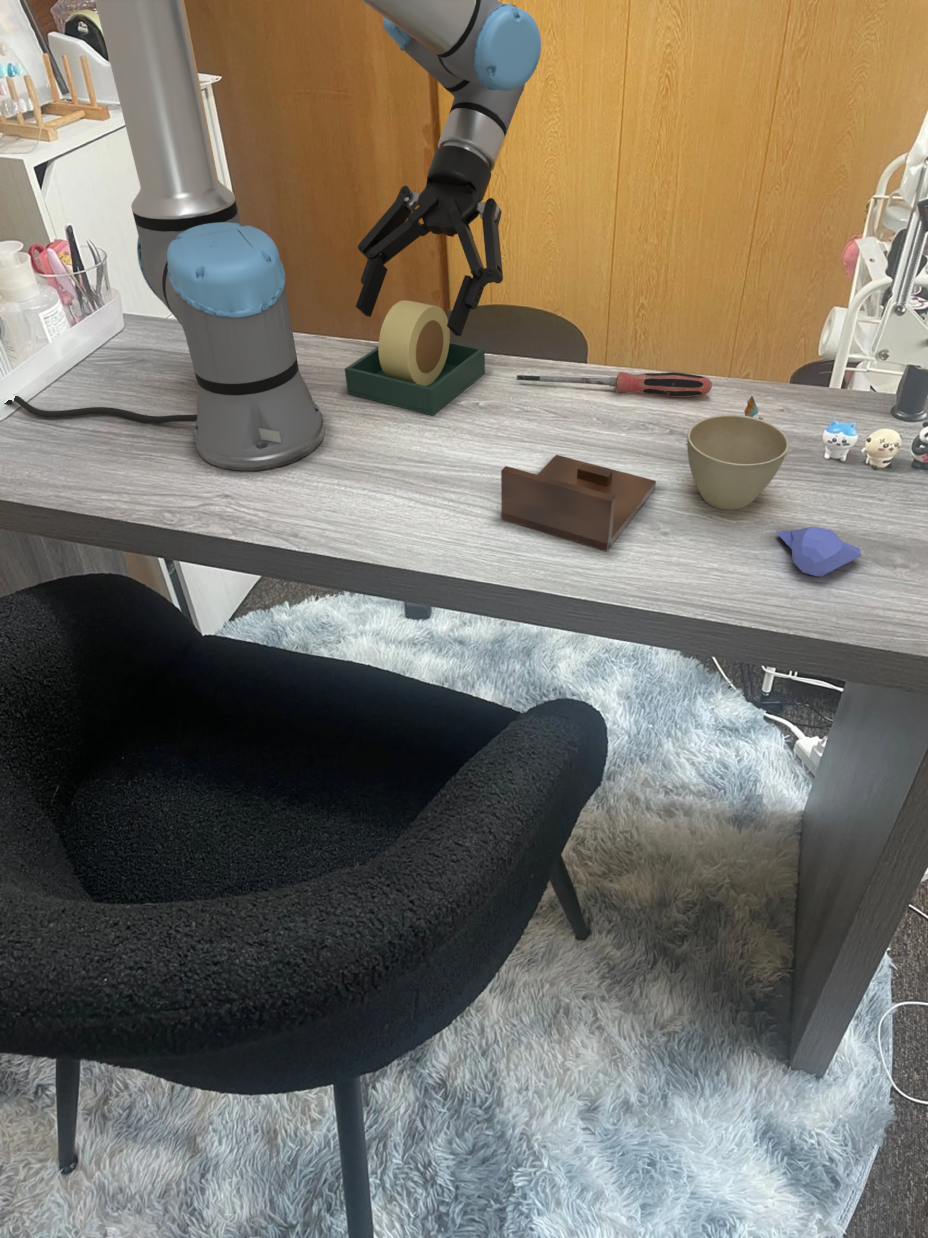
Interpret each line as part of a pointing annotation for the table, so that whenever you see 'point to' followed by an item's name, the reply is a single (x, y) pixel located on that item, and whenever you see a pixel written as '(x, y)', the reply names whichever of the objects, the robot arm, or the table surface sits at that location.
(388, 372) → the tape roll
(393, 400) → the tray
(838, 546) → the bird figurine
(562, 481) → the phone holder
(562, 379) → the screwdriver
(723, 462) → the flower pot
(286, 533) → the table surface
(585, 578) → the table surface
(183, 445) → the table surface
